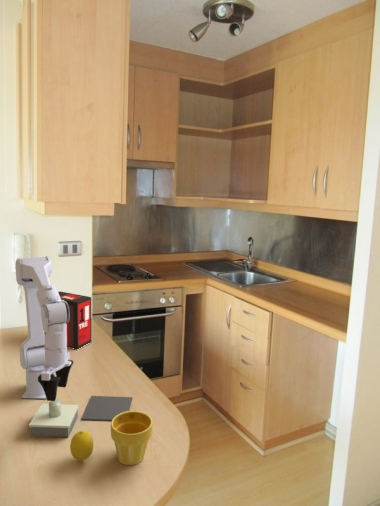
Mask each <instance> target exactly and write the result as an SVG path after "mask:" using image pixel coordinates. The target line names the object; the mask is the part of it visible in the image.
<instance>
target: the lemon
mask: <svg viewBox="0 0 380 506" xmlns="http://www.w3.org/2000/svg"><path fill="white" fill-rule="evenodd" d="M69 445H70V447H69V448H70V449H69V450H70V453H71V456H72V457H73V459H74V460H76V461H81V462H83V461H85V460H88V458H89V457H90V456H91V455H92V453H93V451H94V440H93V436H92V434H91V433H90V432H89V431H86V430H80V431H77V432H76V433H74V435H73V436H72V438H71V440H70V444H69Z"/></svg>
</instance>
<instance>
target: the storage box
mask: <svg viewBox="0 0 380 506" xmlns="http://www.w3.org/2000/svg"><path fill="white" fill-rule="evenodd" d="M78 411H79V409H78V410H77V412H76V414H75V416H74V418H73V420H72V422H71V424H70V426H69V428H50V427H30V437H38V438H39V437H43V438H65V439H66V438H69V436H70V434H71V432H72V430H73V428H74V426H75V423H76V421H77V419H78V416H79V415H78V414H79V412H78Z"/></svg>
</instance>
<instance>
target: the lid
mask: <svg viewBox="0 0 380 506" xmlns="http://www.w3.org/2000/svg"><path fill="white" fill-rule="evenodd" d="M48 402H49V403H42V404H41V405H40V407H39V408H38V410H37V411H36V412H35V415H34V416H33V418H31V421H30V423H29V424H28V427H29V428H31V427H50V428H69V426H70V424H71V422H72V420H73V418H74V416H75V414H76V412H77V410H78V411H79V407H80V405H79V404H63V403H62V402H61V400H59V399H56V400H55V401H48Z"/></svg>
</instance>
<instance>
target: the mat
mask: <svg viewBox="0 0 380 506" xmlns="http://www.w3.org/2000/svg"><path fill="white" fill-rule="evenodd" d="M132 402H133V397H132V396H111V395H110V396H109V395H108V396H107V395H91V396H90V399H89V401H88V403H87V406H86V408H85V409H84V413H83V414H82V417H81V421H101V422H102V421H105V422H112V420H113V418H114V417H115V416H117V415H118V414H120V413H123V412H126V411H131V410H130V409H131V404H132Z"/></svg>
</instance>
